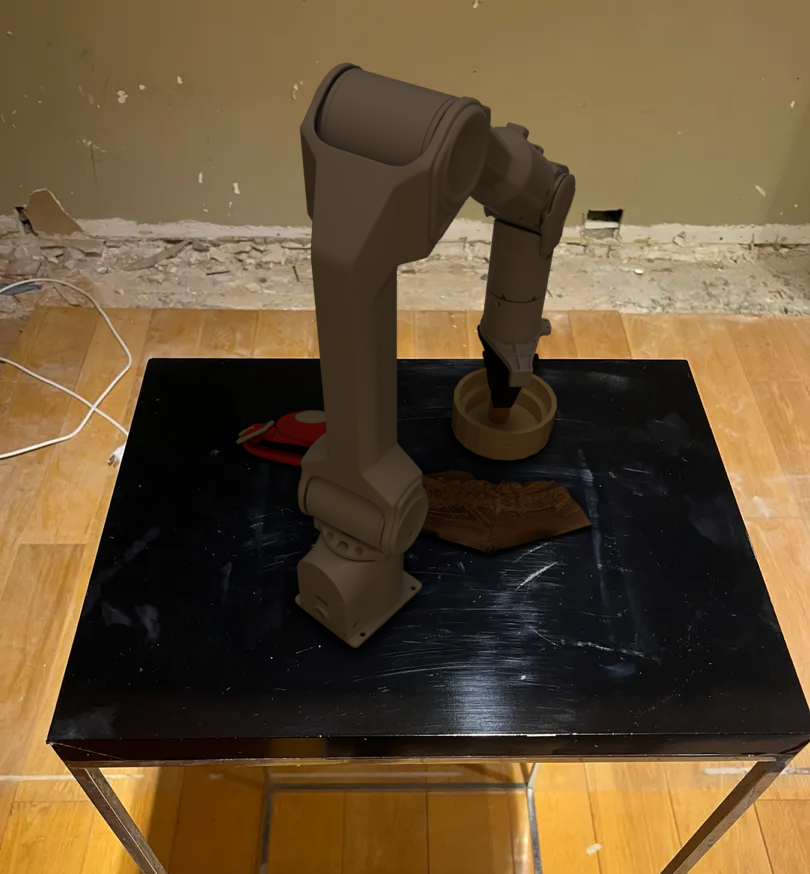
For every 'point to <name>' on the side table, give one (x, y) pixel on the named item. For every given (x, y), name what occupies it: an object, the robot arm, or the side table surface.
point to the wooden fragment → (497, 511)
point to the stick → (498, 414)
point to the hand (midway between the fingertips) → (500, 396)
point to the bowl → (511, 438)
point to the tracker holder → (285, 435)
